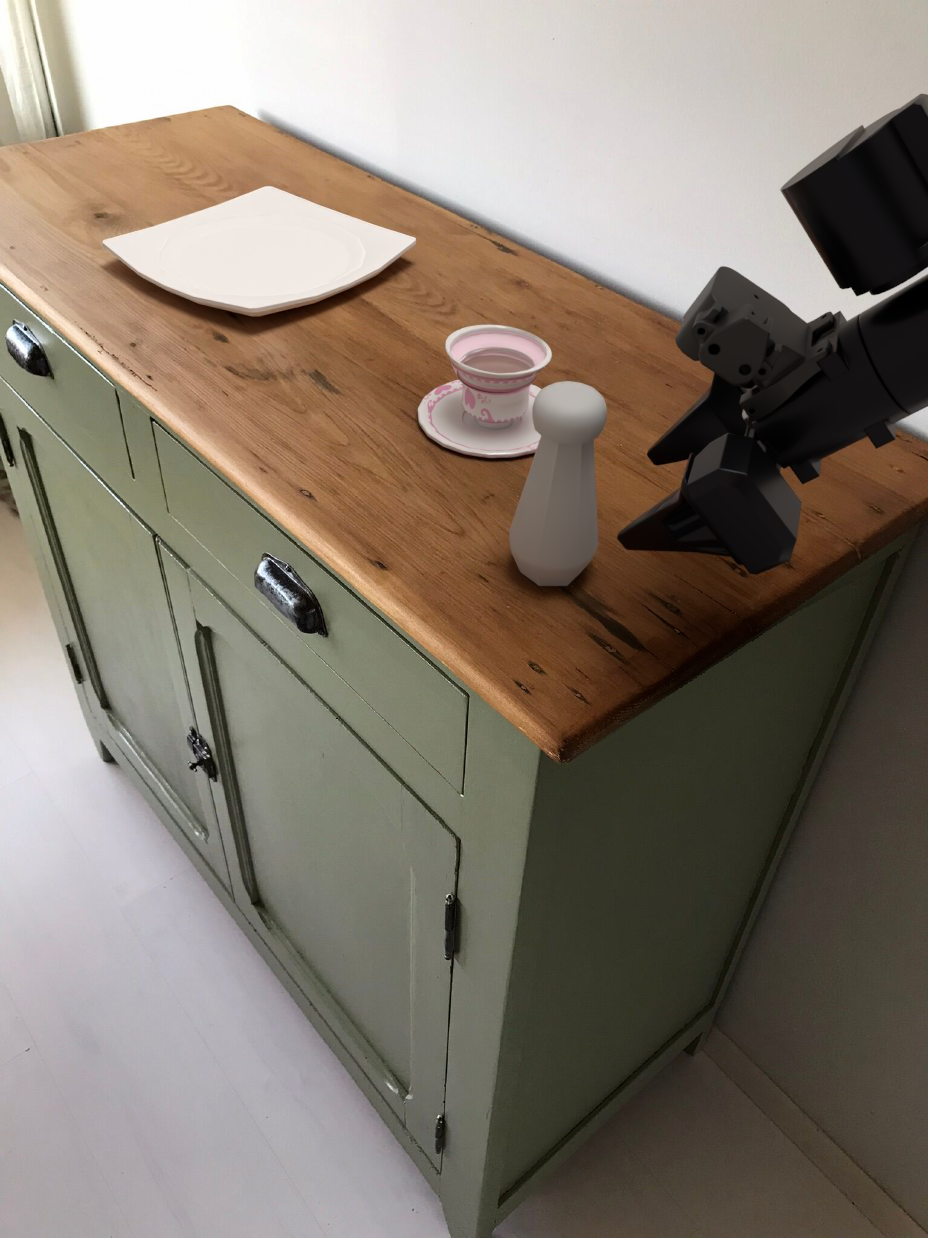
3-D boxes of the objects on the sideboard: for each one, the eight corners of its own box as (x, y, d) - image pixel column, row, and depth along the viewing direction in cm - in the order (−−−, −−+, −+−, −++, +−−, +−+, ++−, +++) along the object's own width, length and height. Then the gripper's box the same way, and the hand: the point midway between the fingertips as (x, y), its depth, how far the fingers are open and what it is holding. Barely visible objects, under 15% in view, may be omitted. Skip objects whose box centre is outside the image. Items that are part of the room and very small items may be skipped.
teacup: (595, 417, 78) (605, 347, 73) (504, 480, 71) (509, 406, 67) (481, 368, 83) (484, 300, 79) (386, 421, 76) (384, 349, 72)
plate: (255, 346, 85) (252, 317, 83) (89, 267, 96) (83, 241, 94) (433, 264, 99) (434, 238, 97) (271, 204, 110) (269, 180, 108)
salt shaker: (548, 608, 61) (571, 430, 52) (488, 563, 64) (500, 388, 55) (611, 571, 63) (642, 397, 55) (550, 530, 67) (571, 359, 58)
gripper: (812, 172, 52) (590, 328, 62) (784, 313, 39) (508, 483, 49) (914, 332, 55) (689, 456, 65) (919, 511, 42) (637, 632, 52)
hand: (636, 498), depth 58 cm, fingers open, 9 cm apart
